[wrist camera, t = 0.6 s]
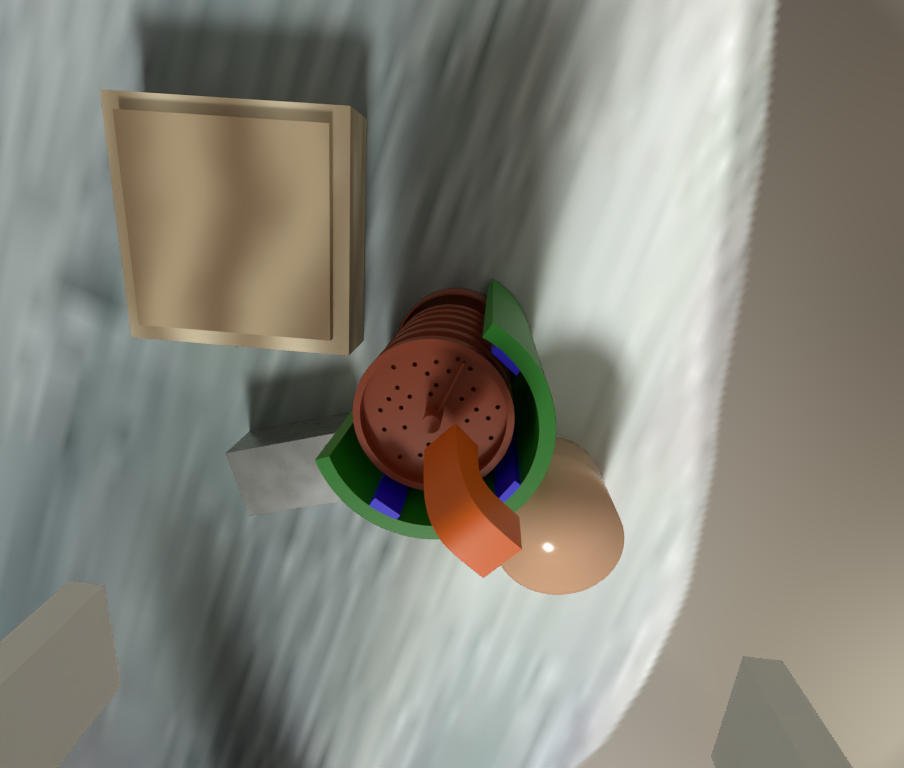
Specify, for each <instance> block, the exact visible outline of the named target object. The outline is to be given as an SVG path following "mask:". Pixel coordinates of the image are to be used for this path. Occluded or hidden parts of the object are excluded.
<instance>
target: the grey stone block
mask: <svg viewBox="0 0 904 768" xmlns="http://www.w3.org/2000/svg"><path fill="white" fill-rule="evenodd" d="M350 413H351V412H350ZM350 413H345V414H339V415H334V416H329V417H323V418H318V419H313V420H307V421H302V422H297V423H291V424H286V425H281V426H275V427H270V428H265V429H259V430H254V431H250V432H248V433H247V434H246V435H245V436H244V437H243V438H242V439H241V440H240V441H238V442H237V443H236V444H235V445H234V446H233V447H232V448H231V449H230V450H229V451H227V452H226V456H227V458H228V461H229V464H230V466H231V469H232V471H233V474H234V477H235V479H236V482H237V485H238V487H239V490H240V492H241V495H242V498H243V500H244V503H245V506H246V508H247V511H248V513H249V516H253V515H259V514H265V513H271V512H278V511H284V510H290V509H296V508H302V507H308V506H314V505H320V504H326V503H332V502H338V501H342V500H341V499H340V498H339V497H338V496H337V495H336V494H335V492H334V491H333V490H332V489H331V488H330V486H329V485H328V483H327V482H326V480H325V479H324V477H323V476H322V474H321V472H320V470H319V468H318V466H317V464H316V462H315V459H316V458H317V456H318V455H319V454H320V452H321V451H322V450H323V448H324V447H325V446H326V444H327V443H328V442H329V440H330V439H331V438H332V436H333V435H334V434H335V433H336V431H337V430H338V429H339V427H340V426H341V425H342V423H343V422H344V421H345V419H346V418H347V417H348V415H349V414H350Z"/></svg>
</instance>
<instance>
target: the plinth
mask: <svg viewBox="0 0 904 768" xmlns="http://www.w3.org/2000/svg"><path fill="white" fill-rule="evenodd" d="M100 94H101V102H102V110H103V118H104V126H105V134H106V141H107V149H108V157H109V165H110V173H111V181H112V188H113V196H114V204H115V212H116V220H117V228H118V235H119V243H120V251H121V259H122V267H123V275H124V282H125V290H126V298H127V306H128V314H129V322H130V330H131V337H136V338H148V339H159V340H171V341H183V342H195V343H207V344H219V345H230V346H242V347H254V348H266V349H278V350H289V351H301V352H313V353H325V354H337V355H350V354H351V353H352V352H353V351H354V350H355V349H356V348H357V347H358V346H359V345H360V344H361V343H362V342H363V330H364V267H365V204H366V140H367V119H366V118H365V117H364V116H363V115H361V114H360V113H359V112H358V111H356V110H355V109H354V108H353V107H351V106H346V105H330V104H315V103H300V102H284V101H269V100H253V99H238V98H222V97H207V96H192V95H176V94H161V93H145V92H130V91H114V90H100Z"/></svg>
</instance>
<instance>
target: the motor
mask: <svg viewBox="0 0 904 768" xmlns="http://www.w3.org/2000/svg"><path fill="white" fill-rule="evenodd" d="M510 370H511V371H512V372H513V373H512V375H511V376H510ZM555 439H556V416H555V409H554V404H553V400H552V396H551V393H550V390H549V387H548V384H547V381H546V377H545V374H544V371H543V368H542V365H541V362H540V359H539V356H538V353H537V350H536V347H535V344H534V341H533V338H532V335H531V331H530V328H529V325H528V322H527V319H526V317H525V314H524V312H523V310H522V308H521V306H520V304H519V303H518V301H517V300H516V299H515V297H514V296H513V295H512V294H511V293H510V292H509V291H508V290H507V289H506V288H505V287H504V286H503V285H501V284H500V283H499V282H497V281H496V280H494V279H493V281H492V282H491V283H490V285H489V286H488V289H487V297H485V296H484V295H482V294H480V293H478V292H475V291H472V290H468V289H462V288H449V289H443V290H440V291H437V292H434V293H432V294H430V295H428V296H426V297H425V298H423V299H422V300H421V301H420V302H419V303H417V304H416V305H415V307H414V308H413V309H412V310H411V311H410V312H409V313H408V314H407V316H406V317H405V318H404V320H403V322H402V324H401V326H400V328H399V331H398V334H397V335H396V336H395V337H394V338H393V340H392V341H391V342H390V343H389V344H388V345H387V347H386V348H385V349H384V350H383V351H382V352H381V353H380V355H379V356H378V357H377V358H376V359H375V360H374V362H373V363H372V364H371V365H370V366H369V367H368V369H367V370H366V371H365V373H364V374H363V376H362V378H361V380H360V382H359V384H358V386H357V389H356V392H355V396H354V401H353V410H352V411H351V413H350V414H349V415H348V417H347V418H346V419H345V421H344V422H343V423H342V425H341V426H340V427H339V429H338V430H337V431H336V433H335V434H334V435H333V436H332V438H331V439H330V440H329V442H328V443H327V444H326V446H325V447H324V448H323V450H322V451H321V452H320V454H319V455H318V456H317V458H316V459H315V462H316V464H317V466H318V468H319V470H320V472H321V474H322V476H323V477H324V479H325V480H326V482H327V483H328V485H329V486H330V488H331V489H332V490H333V491H334V492H335V494H336V495H337V496H338V497H339V498H340V499H341V500H342V501H343V502H344V503H345V504H346V505H347V506H348V507H350V508H351V509H352V510H353V511H354V512H356V513H357V514H359V515H360V516H361V517H363V518H365V519H366V520H368V521H370V522H371V523H373V524H375V525H377V526H379V527H381V528H384V529H386V530H389V531H391V532H394V533H397V534H401V535H405V536H409V537H415V538H421V539H440V540H441V541H442V542H443V543H444V545H445V546H446V547H447V548H448V549H449V550H450V551H451V552H452V553H453V554H454V555H456V556H457V557H458V558H459V559H460V560H461V561H463V562H464V563H465V564H466V565H467V566H469V567H470V568H471V569H473V570H474V571H475V572H476V573H478V574H479V575H480V576H481V577H483V578H484V577H485V576H487V575H488V574H489V573H491V572H492V571H493V570H495V569H496V568H498V567H499V566H500V565H502V564H503V563H504V562H506V561H507V560H508V559H510V558H511V557H513V556H514V555H515V554H517V553H518V552H519V551H521V550H522V543H521V531H520V519H519V516H518V515H517V514H516V513H515V512H516V511H517V510H519V509H520V508H521V507H522V506H523V505H524V504H525V503H526V502H527V501H528V500H529V499H530V497H531V496H532V495H533V494H534V492H535V491H536V490H537V488H538V487H539V485H540V483H541V482H542V480H543V478H544V476H545V474H546V472H547V470H548V467H549V465H550V462H551V459H552V455H553V451H554V446H555Z"/></svg>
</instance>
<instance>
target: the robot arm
mask: <svg viewBox="0 0 904 768" xmlns="http://www.w3.org/2000/svg"><path fill="white" fill-rule="evenodd" d="M120 687H121V681H120V675H119V669H118V663H117V657H116V651H115V645H114V639H113V633H112V626H111V620H110V614H109V608H108V602H107V596H106V590H105V585H99V584H90V583H81V582H72V581H69V582H68V583H67V584H66V585H64V586H63V587H62V588H61V589H60V590H59V591H58V592H56V593H55V594H54V595H53V596H52V597H51V598H50V599H48V600H47V601H46V602H45V603H44V604H43V605H41V606H40V607H39V608H38V609H37V610H36V611H35V612H33V613H32V614H31V615H30V616H29V617H28V618H27V619H25V620H24V621H23V622H22V623H21V624H20V625H19V626H17V627H16V628H15V629H14V630H13V631H12V632H10V633H9V634H8V635H7V636H6V637H5V638H4V639H2V640H1V641H0V768H57V767H58V766H59V765H60V763H61V762H62V761H63V760H64V758H65V757H66V756H67V754H68V753H69V752H70V751H71V749H72V748H73V747H74V745H75V744H76V743H77V742H78V740H79V739H80V738H81V737H82V735H83V734H84V733H85V731H86V730H87V729H88V728H89V726H90V725H91V724H92V722H93V721H94V720H95V719H96V717H97V716H98V715H99V714H100V712H101V711H102V710H103V708H104V707H105V706H106V705H107V703H108V702H109V701H110V700H111V698H112V697H113V696H114V694H115V693H116V692H117V691H118V689H119V688H120ZM711 757H712V760H713V762H714V765H715V767H716V768H853V767H852V766H851V764H850V763H849V761H848V760H847V758H846V757H845V755H844V754H843V752H842V751H841V749H840V748H839V746H838V744H837V743H836V741H835V740H834V739H833V737H832V735H831V734H830V732H829V731H828V729H827V728H826V726H825V725H824V723H823V722H822V720H821V719H820V717H819V716H818V714H817V713H816V711H815V710H814V708H813V706H812V705H811V703H810V702H809V700H808V699H807V697H806V696H805V694H804V693H803V691H802V690H801V688H800V687H799V685H798V684H797V682H796V681H795V679H794V678H793V676H792V674H791V673H790V671H789V670H788V668H787V667H786V665H785V664H784V662H783V661H780V660H771V659H762V658H754V657H745V656H743V658H742V661H741V664H740V667H739V671H738V674H737V677H736V680H735V683H734V686H733V690H732V692H731V696H730V699H729V702H728V705H727V708H726V711H725V714H724V718H723V721H722V724H721V727H720V730H719V733H718V737H717V740H716V743H715V746H714V749H713V752H712V755H711Z"/></svg>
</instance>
